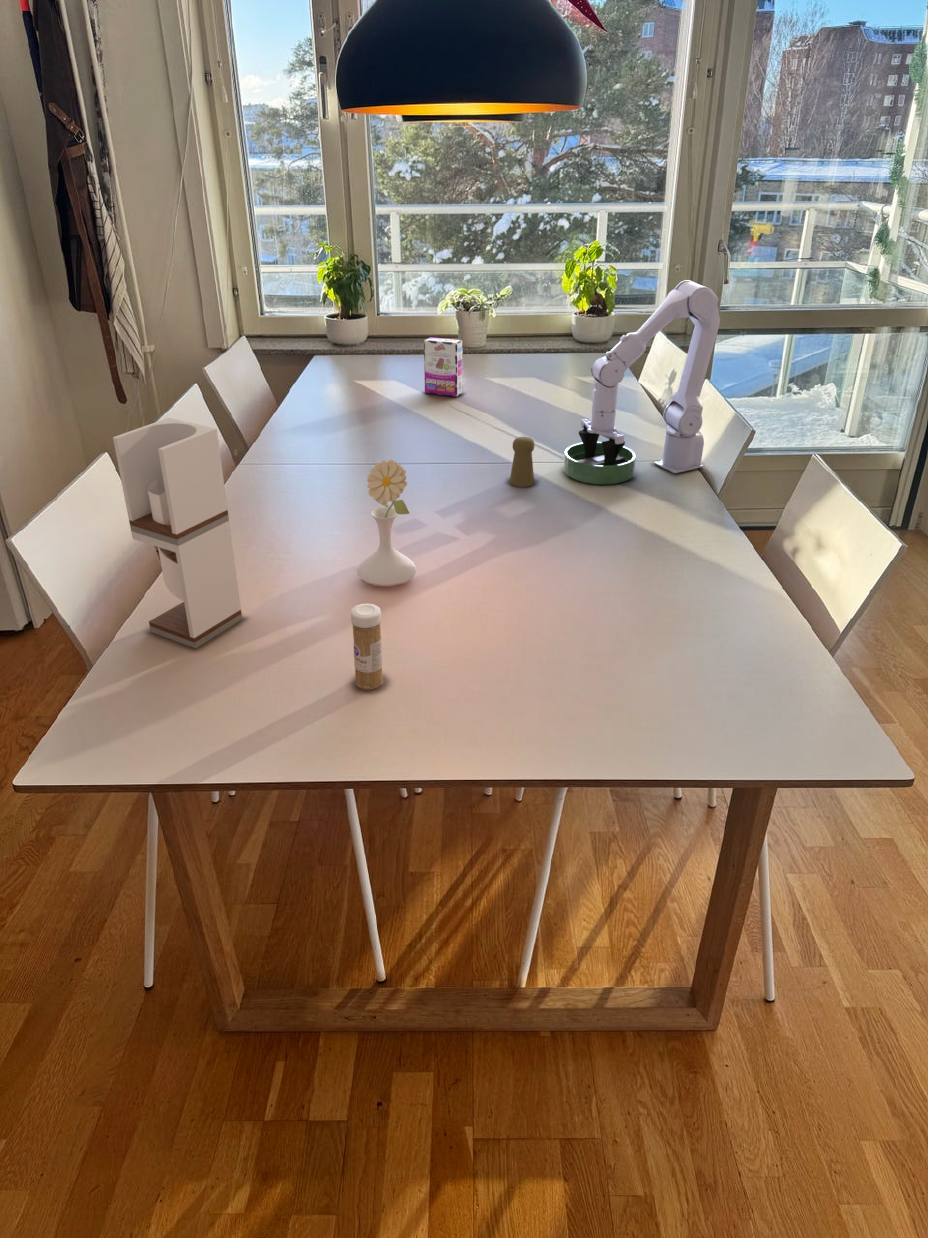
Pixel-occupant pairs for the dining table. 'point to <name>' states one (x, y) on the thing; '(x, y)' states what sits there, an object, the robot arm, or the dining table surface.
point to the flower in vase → (386, 528)
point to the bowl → (598, 466)
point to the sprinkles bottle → (367, 646)
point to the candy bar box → (443, 366)
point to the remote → (601, 460)
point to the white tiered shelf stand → (183, 523)
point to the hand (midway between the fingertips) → (599, 463)
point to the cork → (522, 462)
